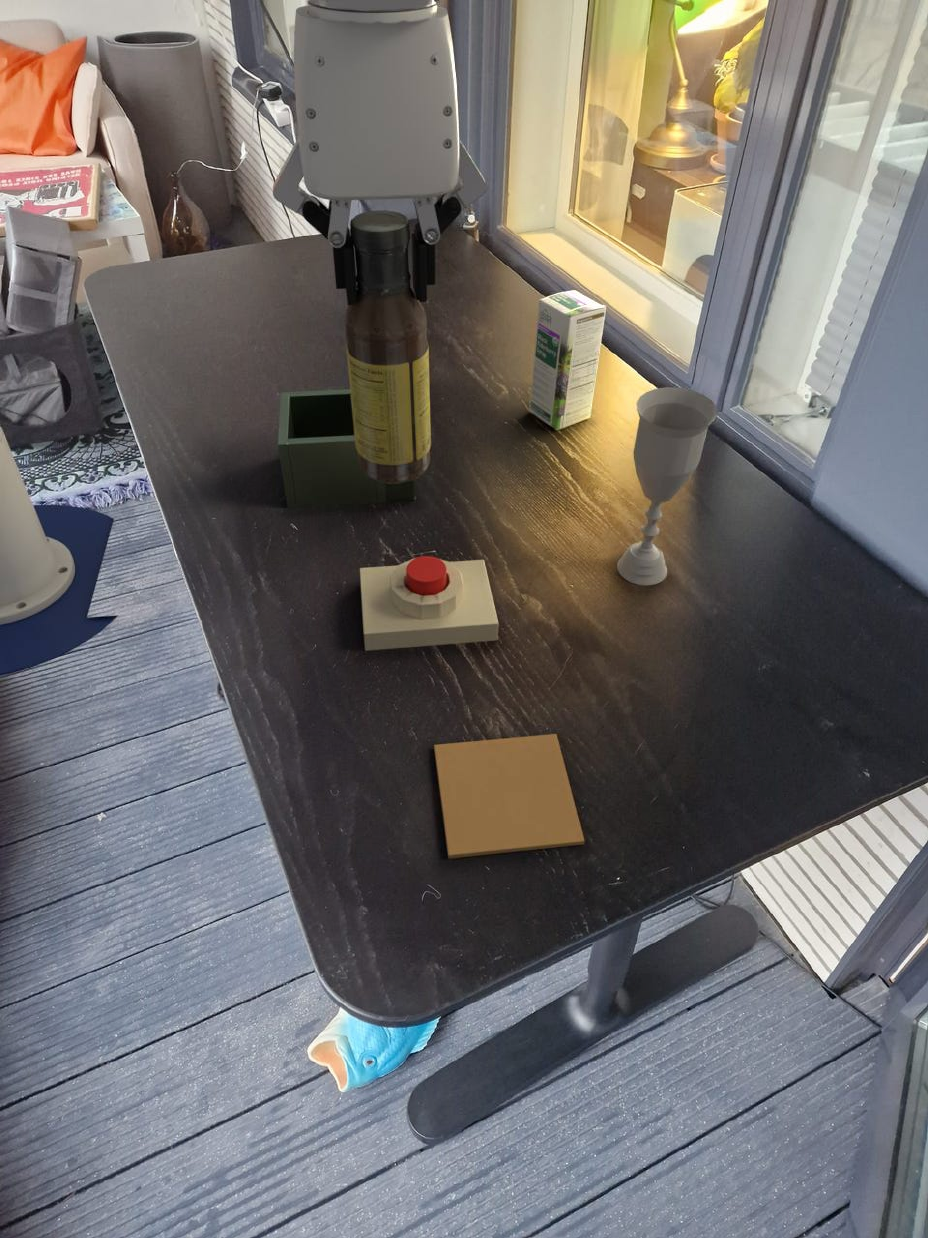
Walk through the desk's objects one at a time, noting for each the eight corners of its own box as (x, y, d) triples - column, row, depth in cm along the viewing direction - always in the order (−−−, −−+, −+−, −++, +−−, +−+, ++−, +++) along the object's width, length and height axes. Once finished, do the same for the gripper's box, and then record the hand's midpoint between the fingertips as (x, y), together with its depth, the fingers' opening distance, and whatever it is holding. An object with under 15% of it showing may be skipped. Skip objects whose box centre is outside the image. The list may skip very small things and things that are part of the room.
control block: (365, 651, 76) (362, 618, 73) (360, 584, 82) (358, 552, 80) (497, 640, 77) (499, 608, 75) (483, 576, 84) (484, 544, 81)
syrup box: (527, 411, 107) (536, 298, 97) (563, 398, 109) (575, 286, 99) (556, 432, 103) (568, 316, 93) (592, 418, 106) (608, 304, 96)
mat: (448, 859, 61) (448, 855, 61) (434, 748, 68) (434, 744, 68) (583, 844, 62) (584, 841, 62) (555, 737, 69) (556, 733, 69)
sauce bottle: (405, 438, 75) (401, 196, 61) (444, 472, 71) (449, 223, 57) (340, 459, 72) (321, 211, 58) (378, 496, 68) (366, 240, 54)
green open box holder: (287, 508, 91) (272, 408, 83) (289, 454, 99) (275, 357, 90) (413, 501, 93) (411, 402, 84) (406, 448, 100) (403, 352, 92)
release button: (408, 597, 76) (408, 583, 75) (405, 571, 78) (404, 557, 77) (448, 595, 76) (448, 580, 75) (444, 569, 79) (444, 554, 78)
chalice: (659, 601, 82) (699, 439, 69) (595, 576, 84) (622, 414, 72) (687, 560, 86) (729, 401, 74) (625, 537, 89) (656, 379, 76)
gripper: (504, -28, 52) (491, 271, 65) (225, -28, 50) (268, 280, 63) (528, -8, 47) (510, 313, 60) (217, -8, 45) (266, 324, 58)
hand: (385, 293), depth 61 cm, fingers closed on sauce bottle, 4 cm apart
